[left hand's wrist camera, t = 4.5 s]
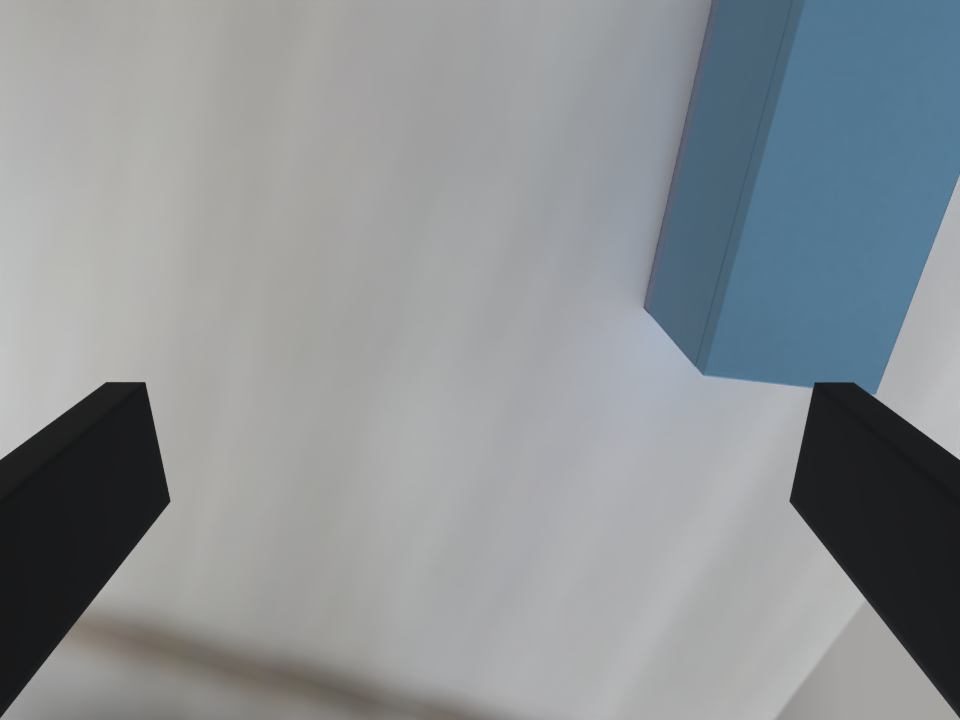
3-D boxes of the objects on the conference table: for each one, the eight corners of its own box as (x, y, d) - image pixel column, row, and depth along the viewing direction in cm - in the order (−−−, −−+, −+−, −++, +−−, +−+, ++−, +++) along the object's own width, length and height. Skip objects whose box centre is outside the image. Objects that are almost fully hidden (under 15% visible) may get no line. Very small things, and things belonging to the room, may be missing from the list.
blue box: (727, -66, 26) (844, -149, 18) (884, -42, 26) (1071, -114, 18) (643, 307, 31) (702, 376, 23) (773, 323, 32) (876, 396, 24)
